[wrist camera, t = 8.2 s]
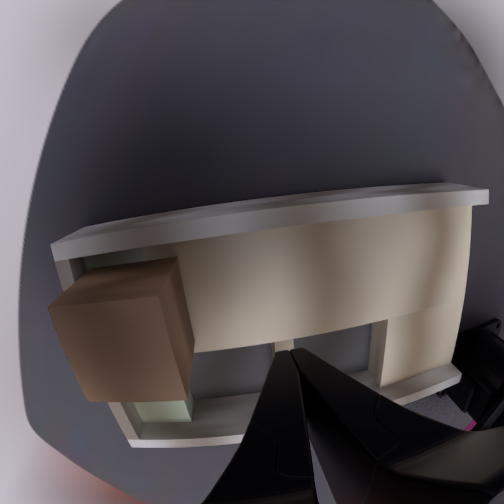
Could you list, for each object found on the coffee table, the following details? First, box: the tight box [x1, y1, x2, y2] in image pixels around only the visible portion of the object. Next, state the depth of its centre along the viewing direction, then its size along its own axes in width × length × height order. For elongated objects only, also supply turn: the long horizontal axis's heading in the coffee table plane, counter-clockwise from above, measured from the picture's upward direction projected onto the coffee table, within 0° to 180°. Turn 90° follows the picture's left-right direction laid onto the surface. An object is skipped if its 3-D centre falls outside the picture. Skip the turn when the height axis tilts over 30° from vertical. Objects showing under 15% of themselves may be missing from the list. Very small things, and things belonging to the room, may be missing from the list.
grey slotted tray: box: [51, 182, 489, 448], centre depth 16 cm, size 22×13×4 cm, turn 96°
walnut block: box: [48, 256, 195, 402], centre depth 12 cm, size 4×4×4 cm
